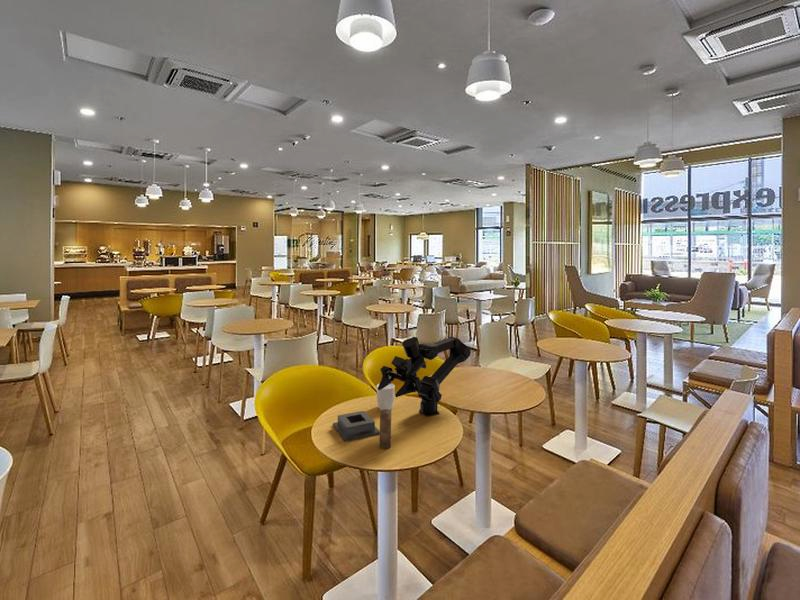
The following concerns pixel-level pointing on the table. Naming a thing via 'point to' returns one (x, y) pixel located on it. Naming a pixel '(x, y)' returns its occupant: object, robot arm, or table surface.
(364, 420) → the socket
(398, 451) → the table surface
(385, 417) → the peg
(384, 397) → the white cup
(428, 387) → the robot arm
